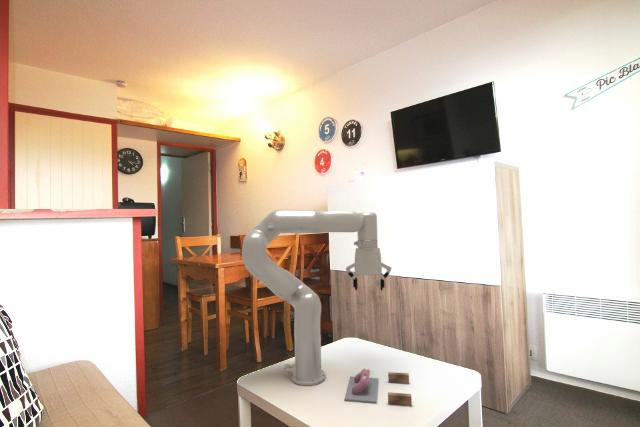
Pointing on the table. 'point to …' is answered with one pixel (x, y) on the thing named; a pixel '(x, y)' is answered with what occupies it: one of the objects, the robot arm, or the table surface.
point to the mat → (365, 396)
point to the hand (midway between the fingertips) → (368, 289)
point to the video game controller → (361, 381)
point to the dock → (399, 398)
